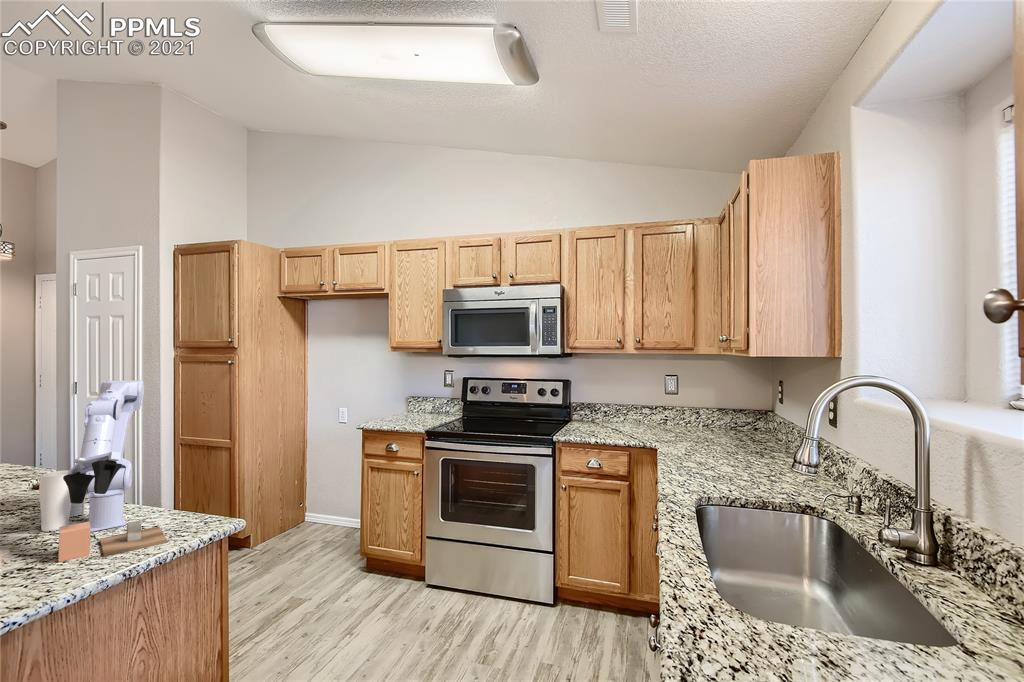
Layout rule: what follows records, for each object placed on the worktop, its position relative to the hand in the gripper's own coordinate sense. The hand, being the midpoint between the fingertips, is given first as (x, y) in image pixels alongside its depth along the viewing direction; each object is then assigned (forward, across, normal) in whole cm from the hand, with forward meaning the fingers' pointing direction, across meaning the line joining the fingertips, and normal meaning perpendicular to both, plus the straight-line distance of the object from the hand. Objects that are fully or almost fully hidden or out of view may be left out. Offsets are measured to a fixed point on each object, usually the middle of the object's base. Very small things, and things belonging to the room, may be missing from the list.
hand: (88, 498), depth 109 cm
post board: (+10, -2, +13) cm, 16 cm away
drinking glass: (-1, -28, +10) cm, 30 cm away
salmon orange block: (+11, -7, +3) cm, 14 cm away
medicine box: (-6, -35, +16) cm, 39 cm away
